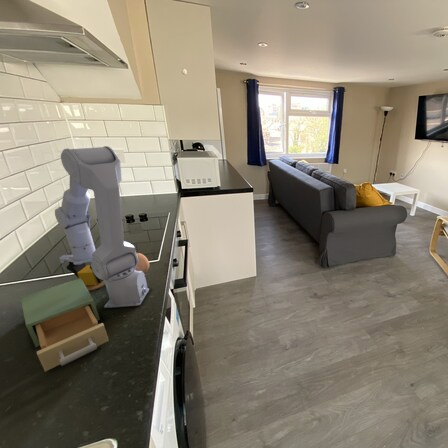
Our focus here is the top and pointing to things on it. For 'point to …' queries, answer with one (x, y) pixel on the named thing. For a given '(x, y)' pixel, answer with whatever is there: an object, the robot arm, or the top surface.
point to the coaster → (95, 286)
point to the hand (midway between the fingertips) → (93, 281)
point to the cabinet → (55, 304)
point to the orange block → (87, 276)
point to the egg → (142, 263)
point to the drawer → (69, 337)
